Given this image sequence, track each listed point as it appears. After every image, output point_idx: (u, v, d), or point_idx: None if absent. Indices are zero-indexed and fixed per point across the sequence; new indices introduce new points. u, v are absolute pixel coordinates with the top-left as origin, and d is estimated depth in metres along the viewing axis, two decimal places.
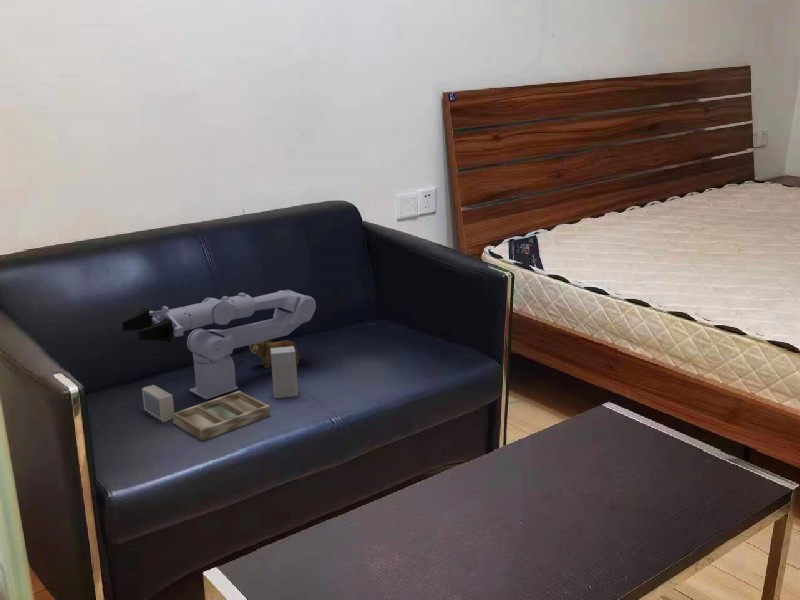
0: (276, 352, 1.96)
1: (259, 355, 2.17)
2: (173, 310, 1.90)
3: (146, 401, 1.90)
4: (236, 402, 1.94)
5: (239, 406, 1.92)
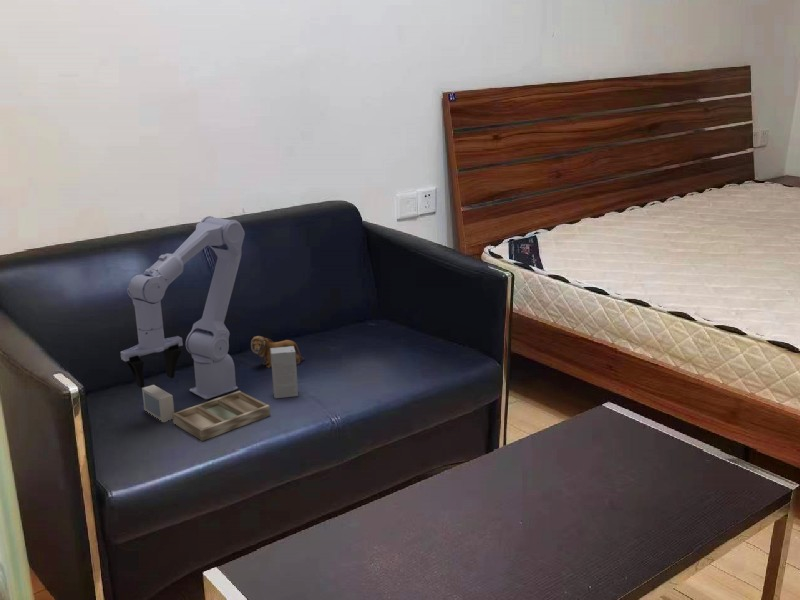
0: (276, 352, 1.96)
1: (261, 355, 2.17)
2: (159, 341, 1.83)
3: (146, 401, 1.90)
4: (236, 402, 1.94)
5: (239, 406, 1.92)
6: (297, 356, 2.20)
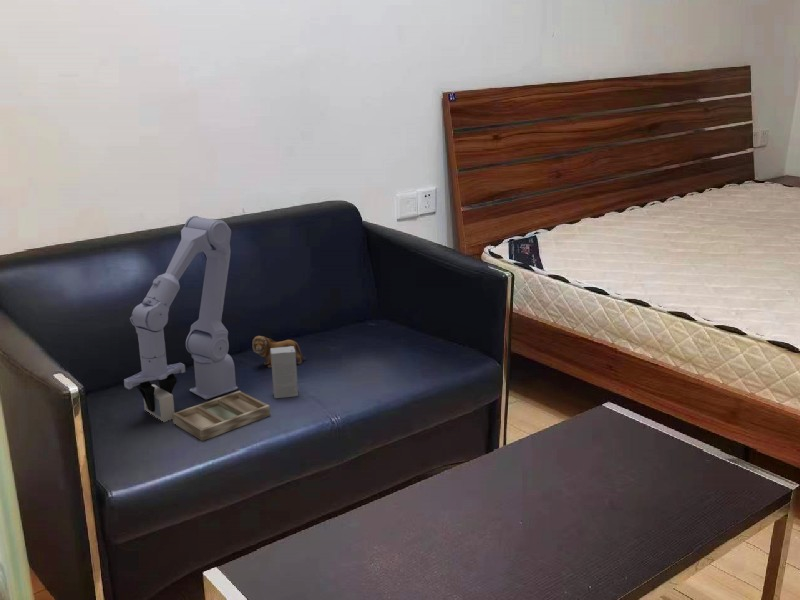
0: (276, 352, 1.96)
1: (262, 355, 2.17)
2: (161, 368, 1.85)
3: None
4: (236, 402, 1.94)
5: (239, 406, 1.92)
6: (298, 356, 2.20)
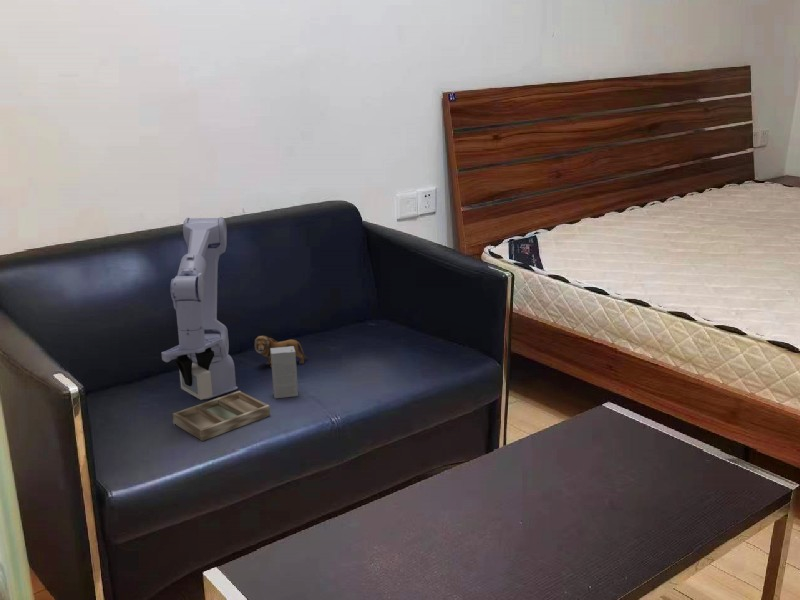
0: (276, 352, 1.96)
1: (264, 355, 2.17)
2: (199, 341, 1.81)
3: None
4: (236, 402, 1.94)
5: (239, 406, 1.92)
6: (301, 355, 2.20)
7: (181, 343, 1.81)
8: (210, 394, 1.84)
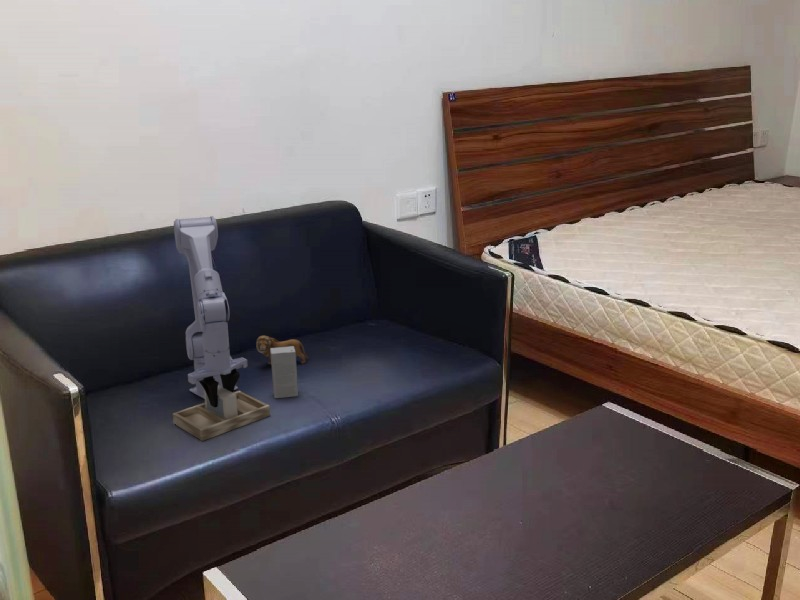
0: (276, 352, 1.96)
1: (266, 355, 2.17)
2: (225, 363, 1.81)
3: (208, 400, 1.87)
4: None
5: (239, 406, 1.92)
6: (302, 355, 2.20)
7: (207, 365, 1.81)
8: None
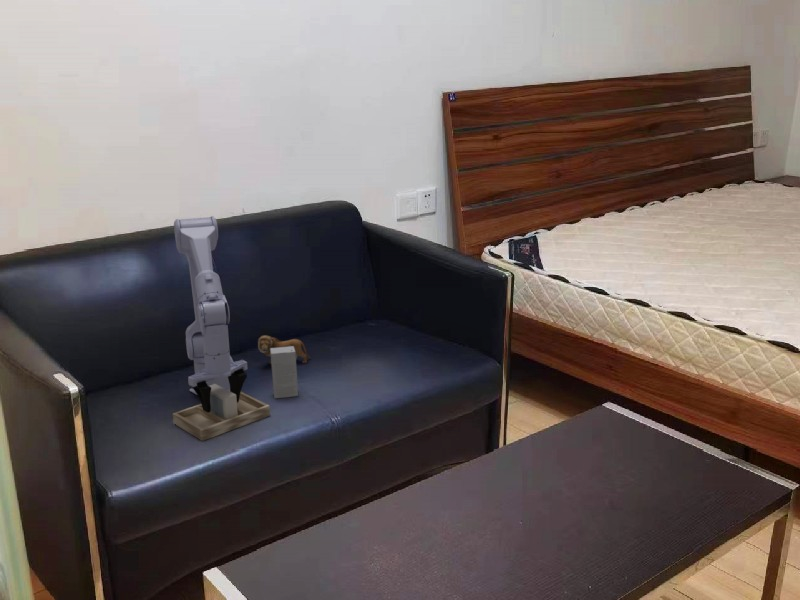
0: (276, 352, 1.96)
1: (268, 354, 2.17)
2: (226, 366, 1.82)
3: None
4: None
5: (239, 406, 1.92)
6: (304, 355, 2.20)
7: (207, 367, 1.81)
8: None
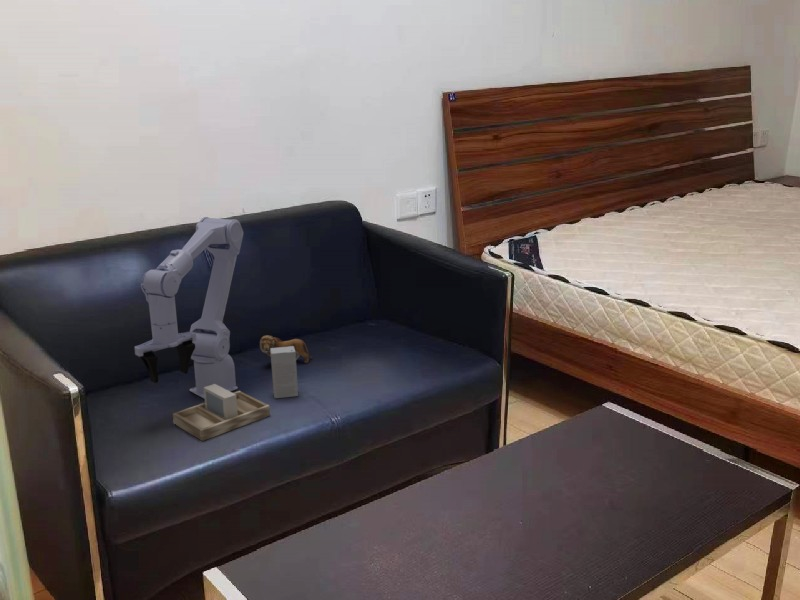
0: (276, 352, 1.96)
1: (270, 354, 2.17)
2: (173, 336, 1.82)
3: (208, 400, 1.87)
4: None
5: (239, 406, 1.92)
6: (306, 355, 2.20)
7: (154, 337, 1.81)
8: None
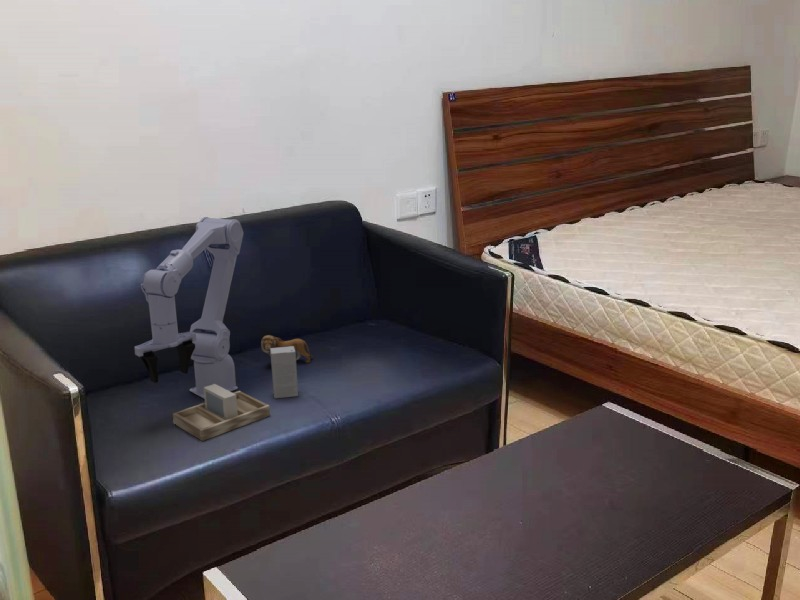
0: (276, 352, 1.96)
1: None
2: (173, 336, 1.82)
3: (208, 400, 1.87)
4: None
5: (239, 406, 1.92)
6: (307, 355, 2.20)
7: (154, 337, 1.81)
8: None
